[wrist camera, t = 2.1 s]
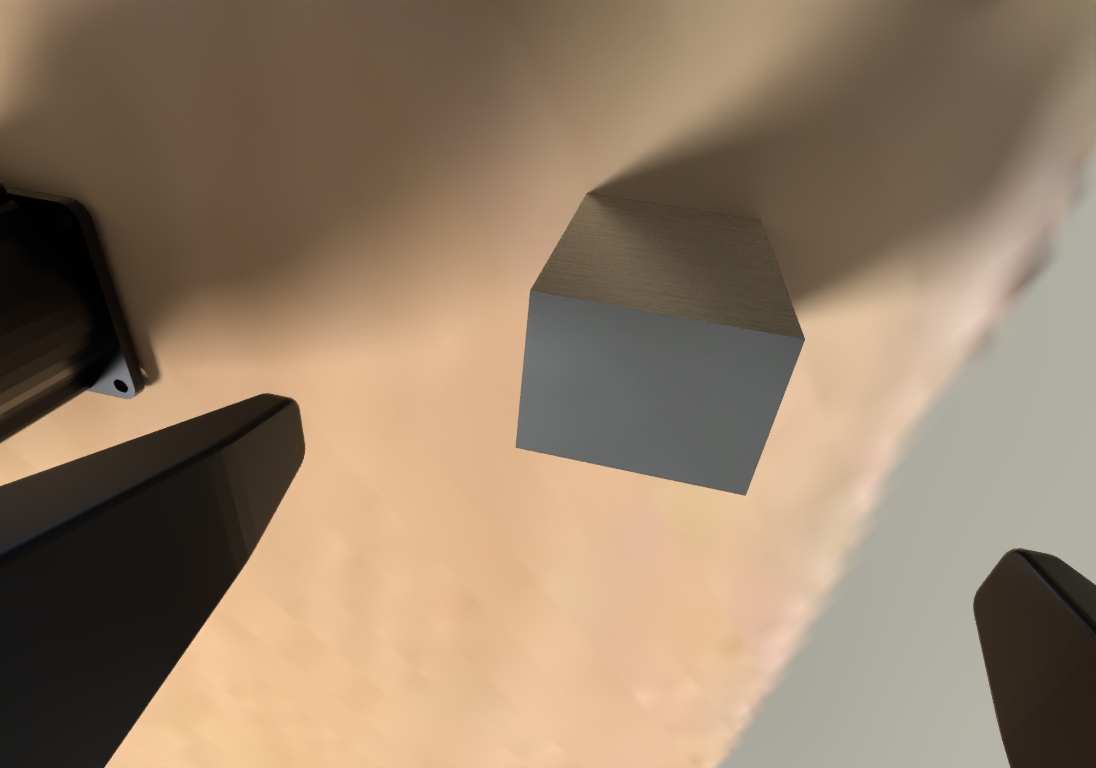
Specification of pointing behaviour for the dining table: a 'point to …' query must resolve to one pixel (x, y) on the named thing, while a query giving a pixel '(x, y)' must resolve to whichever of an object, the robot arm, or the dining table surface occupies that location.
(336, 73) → the dining table surface
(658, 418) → the block
